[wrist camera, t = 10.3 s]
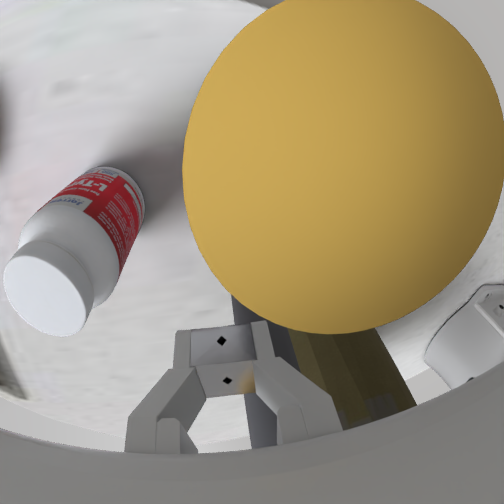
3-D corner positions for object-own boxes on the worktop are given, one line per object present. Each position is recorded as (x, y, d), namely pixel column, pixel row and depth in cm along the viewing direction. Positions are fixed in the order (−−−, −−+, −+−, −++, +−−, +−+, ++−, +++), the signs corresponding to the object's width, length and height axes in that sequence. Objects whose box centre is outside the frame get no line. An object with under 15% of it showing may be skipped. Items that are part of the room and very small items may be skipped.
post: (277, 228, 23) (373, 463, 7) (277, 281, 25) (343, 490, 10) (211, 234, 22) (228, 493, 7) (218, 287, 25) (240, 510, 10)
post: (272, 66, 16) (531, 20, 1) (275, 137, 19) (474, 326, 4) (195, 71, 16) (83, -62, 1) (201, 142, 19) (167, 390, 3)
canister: (358, 276, 26) (470, 470, 9) (370, 339, 32) (441, 487, 15) (251, 321, 27) (295, 540, 10) (285, 375, 33) (326, 533, 16)
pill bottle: (129, 152, 18) (55, 218, 9) (158, 228, 21) (127, 338, 12) (60, 182, 18) (-28, 261, 9) (91, 250, 21) (38, 353, 12)
